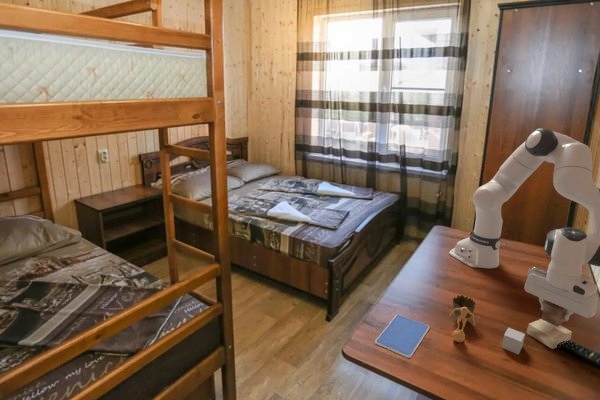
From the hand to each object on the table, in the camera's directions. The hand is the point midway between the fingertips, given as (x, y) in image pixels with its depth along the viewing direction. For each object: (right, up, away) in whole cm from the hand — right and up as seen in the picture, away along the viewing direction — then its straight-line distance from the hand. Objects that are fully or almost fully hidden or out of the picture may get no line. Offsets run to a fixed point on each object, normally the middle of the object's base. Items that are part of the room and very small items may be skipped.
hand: (554, 314), depth 127 cm
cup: (-26, -6, +12) cm, 29 cm away
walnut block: (0, -2, +1) cm, 2 cm away
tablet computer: (-49, -9, +4) cm, 50 cm away
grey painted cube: (-15, -10, -2) cm, 18 cm away
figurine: (-31, -9, +2) cm, 32 cm away
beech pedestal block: (0, -9, +3) cm, 9 cm away
